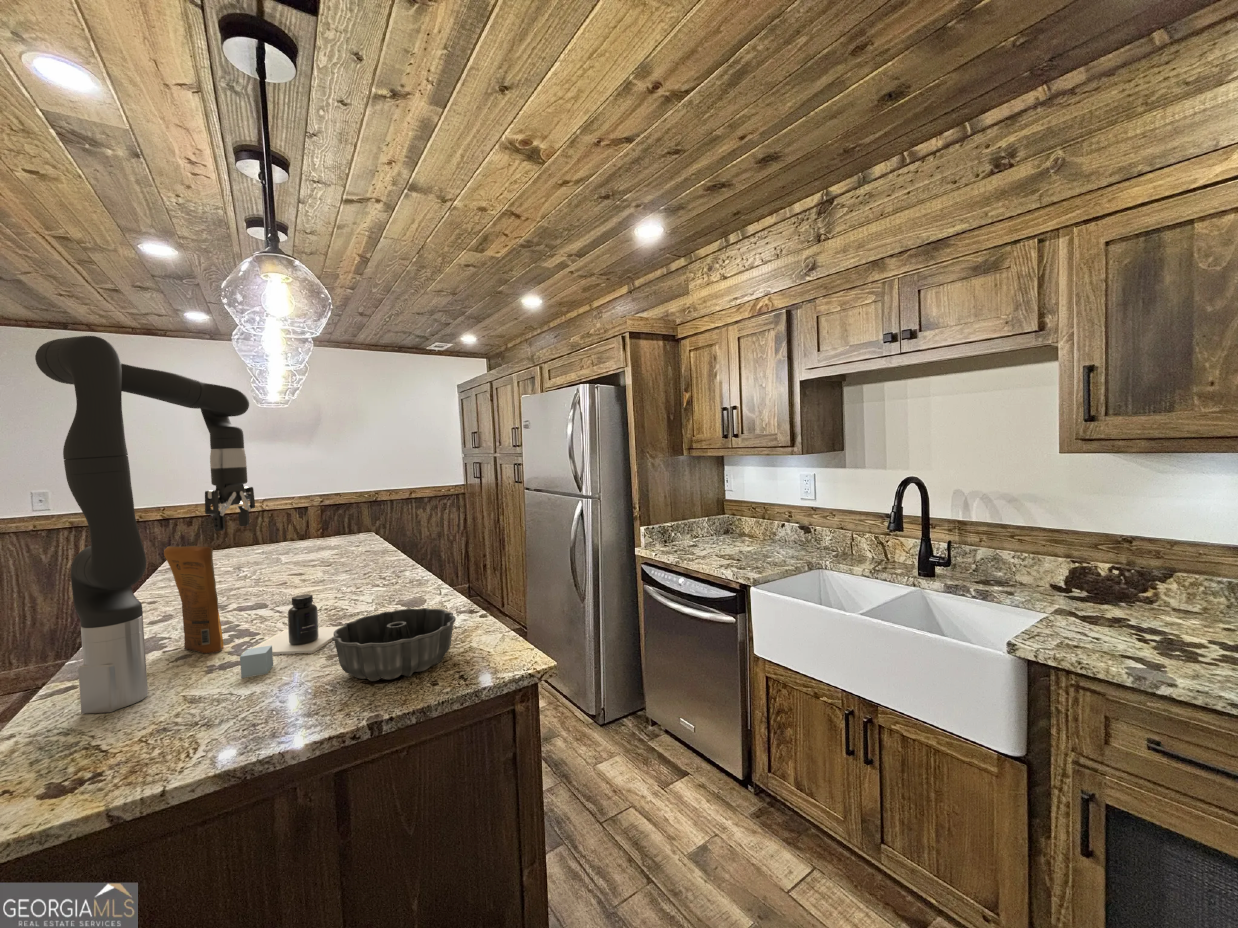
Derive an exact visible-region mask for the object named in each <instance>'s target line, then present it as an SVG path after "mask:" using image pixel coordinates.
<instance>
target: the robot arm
mask: <svg viewBox="0 0 1238 928" xmlns="http://www.w3.org/2000/svg"><path fill="white" fill-rule="evenodd" d="M34 357H35V363H36V365H37V368H38V369H39V371H40V372H41V373H43V374H44V375H45V376H46V377H48V378H50V379H51V380H53V381H55V382H58V383H62V384H67V385H74V392H75V398H76V407H75V414H74V417H73V420H72V422H71V425H70V426H69V429H68V432H67V435H66V438H65V440H64V444H63V448H62V451H63V452H62V455H63V456H62V457H63V464H64V470H65V479H66V482H67V485H68V488H69V490H70V492H71V495H72V496H73V498H74V500H75V502H76V504H77V505H78V507H79V509H80V510H81V512H82V513H83V516H84V518H85V520H86V523H87V526H88V530H89V538H90V546H87V547H85V548H83V549H82V550H81V551H79V552H78V553H77V554H76V556H75V557H74V558H73V561H72V563H71V566H70V567H71V568H70V583H71V592H72V599H73V605H74V610H75V613H76V614H77V616H78V618H79V622H80V635H81V652H82V665H80V666H78V669H77V670H78V671H77V672H78V685H79V698H80V699H79V700H80V711H81V714H98V713H99V714H100V713H112V712H114V711H117V710H120V709H122V708H125V707H128V706H131V705H134V704H136V703H138V702H140V701H142V700H144V699H146V698H147V697H148V695H149V687H148V675H147V659H146V645H145V629H144V616H143V614H144V613H143V604H142V602H141V601H140V600H139V599H138V598H137V597H136V596H135V594H134V592H133V588H132V586H134V585H136V584H137V583H138V582H139V581H140V580H141V578H142V577H143V576H144V574H145V572H146V569H147V556H146V553H145V549H144V544H143V542H142V539H141V534H140V531H139V527H138V522H137V519H136V511H135V503H134V495H133V487H132V479H131V477H132V476H131V469H130V462H129V461H130V460H129V455H128V454H129V453H128V448H127V442H126V437H125V435H126V434H125V426H124V425H125V424H124V418H123V416H124V415H123V406H122V404H123V403H122V402H123V401H122V395H123V394H122V392H124V393H128V394H134V395H137V396H141V397H145V398H150V399H153V400H158V401H162V402H166V403H168V404H173V405H176V406H179V407H180V406H181V407H183V408H188V409H199V410H200V412H201V415H202V418H203V420H204V423H205V425H206V428H207V430H208V433H209V447H210V455H209V463H210V465H209V466H210V467H209V468H210V479H211V485H213V486H215V489H213V490H205V492H204V513H205V515H208V516H209V515H210V516H211V517H212V518H213V519H212V520H213V529H214V532H223V531H225V530H226V519H225V518H226V516H225V514H226V511H227V509H229V508H230V507H231V506H233V507H235V508H236V510H238V525H239V527H248V526H250V512H251V510H253V509H255V508H256V502H255V492H254V491H255V490H254V487H253V486H244V485H245V484H247V483H248V472H247V471H248V470H247V469H248V468H247V467H248V465H247V456H246V450H245V440H244V439H245V437H244V431H243V429H242V428H241V427H239V426H235V425H233V424H232V423H231V421H230V418H229V417H232V418H233V417H239V416H242V415H244V414H245V413H246V412H247V411H249V408H250V401H249V398H248V397H247V396H246V394H245V393H244V392H242V391H241V390H239V389H237V388H233V387H230V386H224V385H220V384H214V383H207V382H202V381H199V380H197V379H193V378H192V377H188V376H186V375H181V374H178V373H174V372H171V371H166V370H160V369H152V368H148V367H141V366H134V365H131V364H125V363H122V361H121V358H120V355H119V353H118V352H117V350H116V348H115V347H114V346H113V344H111V343H110V342H109V341H107V340H106V339H104V338H102V337H100V336H95V335H81V336H71V337H64V338H57V339H53V340H49V341H47V342H45V343H43V344H42V345H39V347H38V348H37V350H36V351H35V356H34ZM211 505H212V506H211ZM211 508H212V509H211Z"/></svg>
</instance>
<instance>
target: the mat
mask: <svg viewBox="0 0 1238 928" xmlns="http://www.w3.org/2000/svg"><path fill="white" fill-rule="evenodd" d="M343 626H344V625H343ZM343 626H340V625H339V626H320V627H319V626H318V639H317V640H315V641H313V642H311V643H307V644H302V645H291V644H290V643H289V634H288V628H286V629H284V630H283V631H282V630H281V631H280V632H278V633H276V634H275V635H273V636H271V637H268V639H266V640H264V641H262V642H259V643H258V644H256V645H255V646H253V647H250V648H249V649H251V648H258V647H265V646H272V653H273V656H284V655H283V654H286V655H296V654H295V653H308V654H314V653H316V652H317V651H319V650H320V649H322V648H323V647H324V646H326V645H328V644H329V643H330V642H333V641H332V637H334V631H335V630H337V629H338V628H340V627H343ZM328 642H329V643H328ZM316 650H317V651H316ZM244 652H245V651H243V652H241V653H240V654H241V655H242V654H243V653H244ZM291 653H292V654H291ZM280 654H282V655H280Z"/></svg>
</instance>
